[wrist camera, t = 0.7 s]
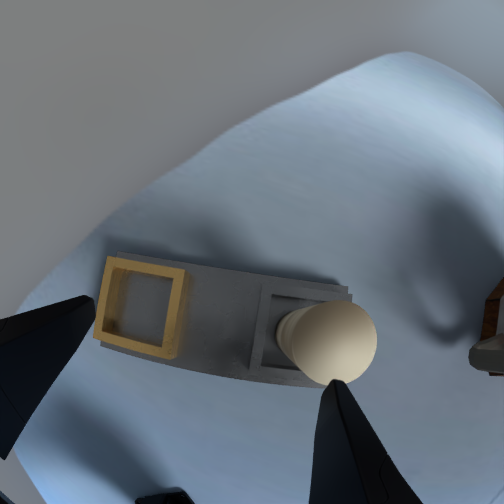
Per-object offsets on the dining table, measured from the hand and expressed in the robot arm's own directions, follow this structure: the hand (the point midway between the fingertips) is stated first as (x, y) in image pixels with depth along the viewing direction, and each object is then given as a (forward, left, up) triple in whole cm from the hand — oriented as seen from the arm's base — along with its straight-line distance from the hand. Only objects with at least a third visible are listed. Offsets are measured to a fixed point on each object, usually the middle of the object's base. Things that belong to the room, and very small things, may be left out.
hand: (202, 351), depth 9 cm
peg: (-2, -5, -14) cm, 15 cm away
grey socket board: (+1, +1, -15) cm, 15 cm away
